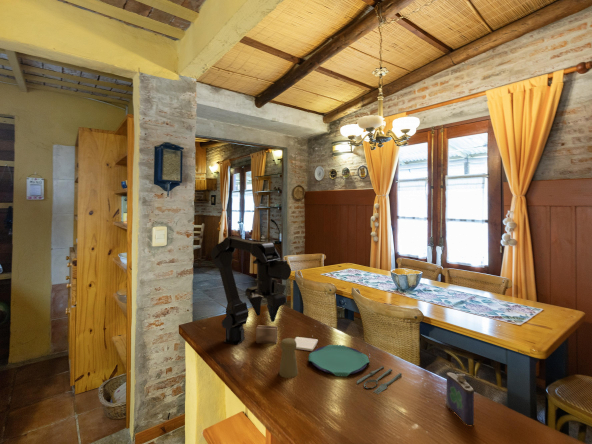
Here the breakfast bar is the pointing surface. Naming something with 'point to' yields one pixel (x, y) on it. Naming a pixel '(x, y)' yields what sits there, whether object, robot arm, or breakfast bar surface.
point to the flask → (460, 397)
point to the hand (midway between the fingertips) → (265, 318)
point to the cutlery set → (346, 363)
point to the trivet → (305, 343)
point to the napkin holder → (266, 334)
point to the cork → (288, 358)
